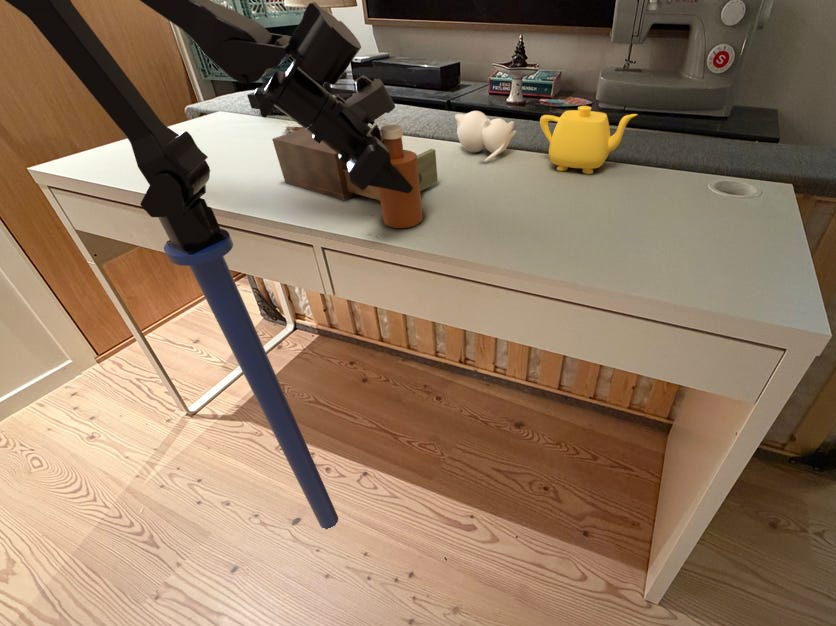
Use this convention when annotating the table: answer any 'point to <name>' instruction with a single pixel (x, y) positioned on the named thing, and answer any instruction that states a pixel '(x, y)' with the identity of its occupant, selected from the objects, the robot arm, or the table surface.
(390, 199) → the bottle
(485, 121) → the cat figurine
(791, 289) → the table surface
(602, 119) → the teapot
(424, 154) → the drawer
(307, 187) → the cabinet
